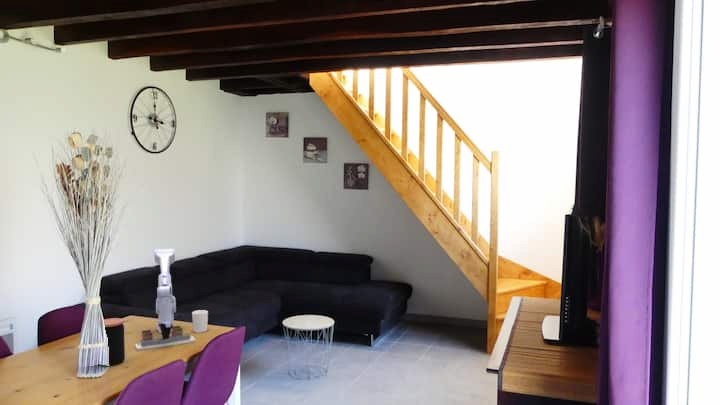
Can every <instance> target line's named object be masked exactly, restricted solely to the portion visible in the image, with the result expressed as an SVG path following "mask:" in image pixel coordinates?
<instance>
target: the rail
mask: <svg viewBox="0 0 720 405" xmlns="http://www.w3.org/2000/svg"><path fill="white" fill-rule="evenodd" d="M170 336H171V337H169V338H168V339H163V338H159V337H157V338H158V339H152V340H145V341H141V340H140V344H141V347H146V346H153V345H159V344H165V343H172V342H178V341H185V340H190V336H191V335H190V334H189V333H186V334H183V335H178V336H172V335H170Z"/></svg>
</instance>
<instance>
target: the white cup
mask: <svg viewBox="0 0 720 405" xmlns="http://www.w3.org/2000/svg"><path fill="white" fill-rule="evenodd" d="M191 315H192V317H191V318H192V327H193V328H192V329H193V332H194V333H197V334H198V333H199V334H200V333H205V332H207V331H208V320H209V317H208V316H209V311H208V310H206V309H202V310H201V309H199V310H193V311H192V312H191Z"/></svg>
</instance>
